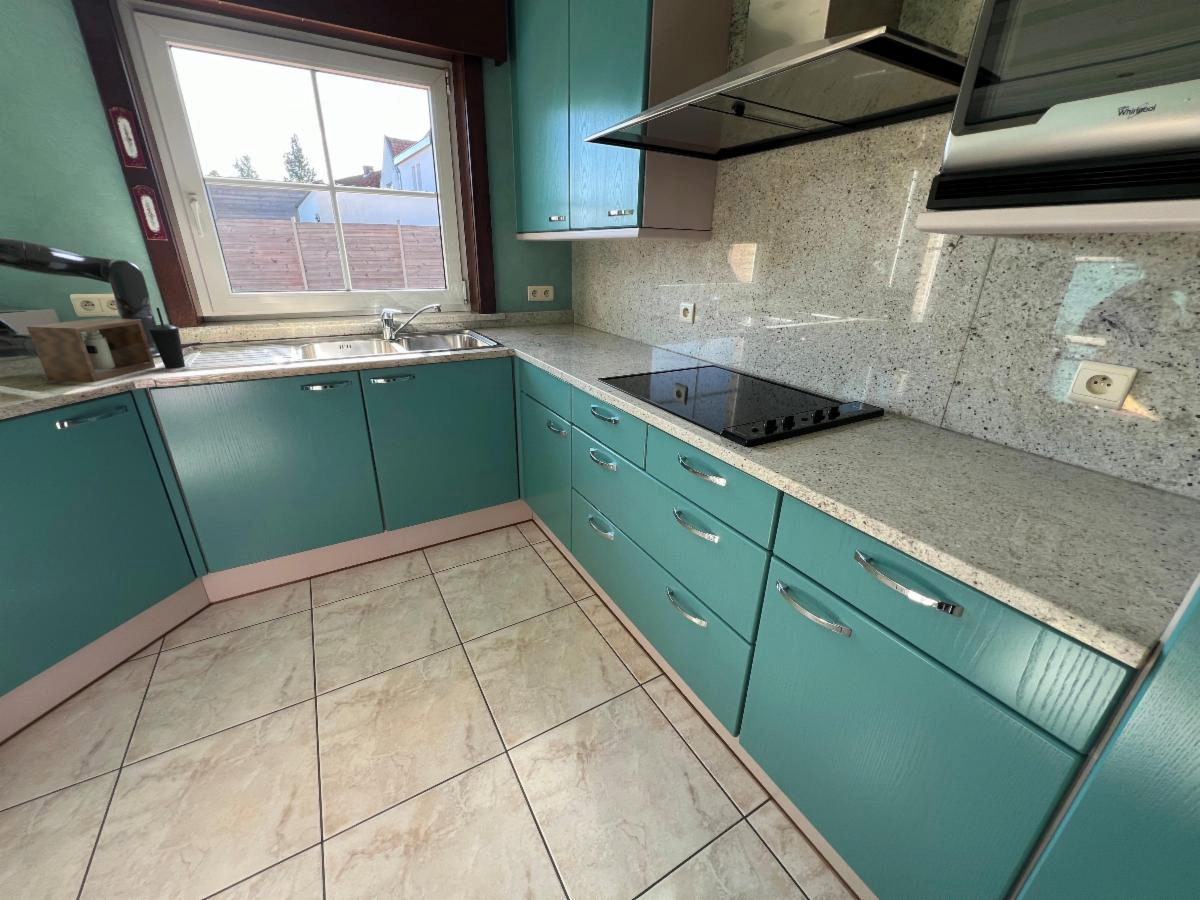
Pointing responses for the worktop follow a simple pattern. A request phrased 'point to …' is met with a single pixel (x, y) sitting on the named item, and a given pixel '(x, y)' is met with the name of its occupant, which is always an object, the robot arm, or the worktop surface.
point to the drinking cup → (168, 344)
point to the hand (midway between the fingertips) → (105, 348)
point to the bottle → (99, 350)
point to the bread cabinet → (69, 355)
